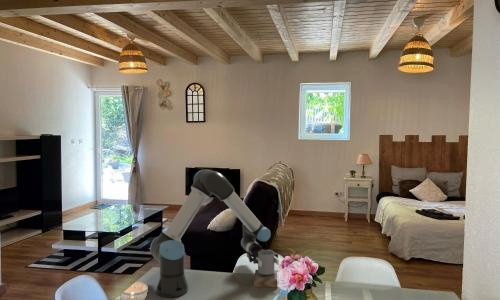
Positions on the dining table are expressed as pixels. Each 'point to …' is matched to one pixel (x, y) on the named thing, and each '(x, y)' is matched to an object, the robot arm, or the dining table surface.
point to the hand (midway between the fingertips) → (269, 263)
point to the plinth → (265, 279)
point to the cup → (266, 262)
